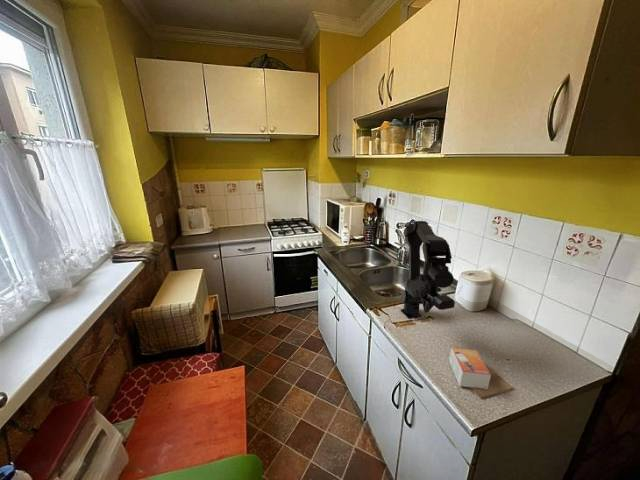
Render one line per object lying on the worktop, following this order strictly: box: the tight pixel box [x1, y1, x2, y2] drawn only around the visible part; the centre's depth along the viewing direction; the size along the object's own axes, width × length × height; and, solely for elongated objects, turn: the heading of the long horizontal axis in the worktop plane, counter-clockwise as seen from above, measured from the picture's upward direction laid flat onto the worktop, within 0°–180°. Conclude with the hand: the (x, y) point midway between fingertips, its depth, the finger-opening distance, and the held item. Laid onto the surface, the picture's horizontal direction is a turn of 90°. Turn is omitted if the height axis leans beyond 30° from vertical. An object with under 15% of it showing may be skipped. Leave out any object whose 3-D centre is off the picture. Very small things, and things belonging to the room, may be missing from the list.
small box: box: [448, 347, 491, 389], centre depth 81 cm, size 8×6×10 cm
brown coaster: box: [469, 362, 514, 400], centre depth 80 cm, size 10×12×1 cm
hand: (426, 312), depth 94 cm, fingers closed
